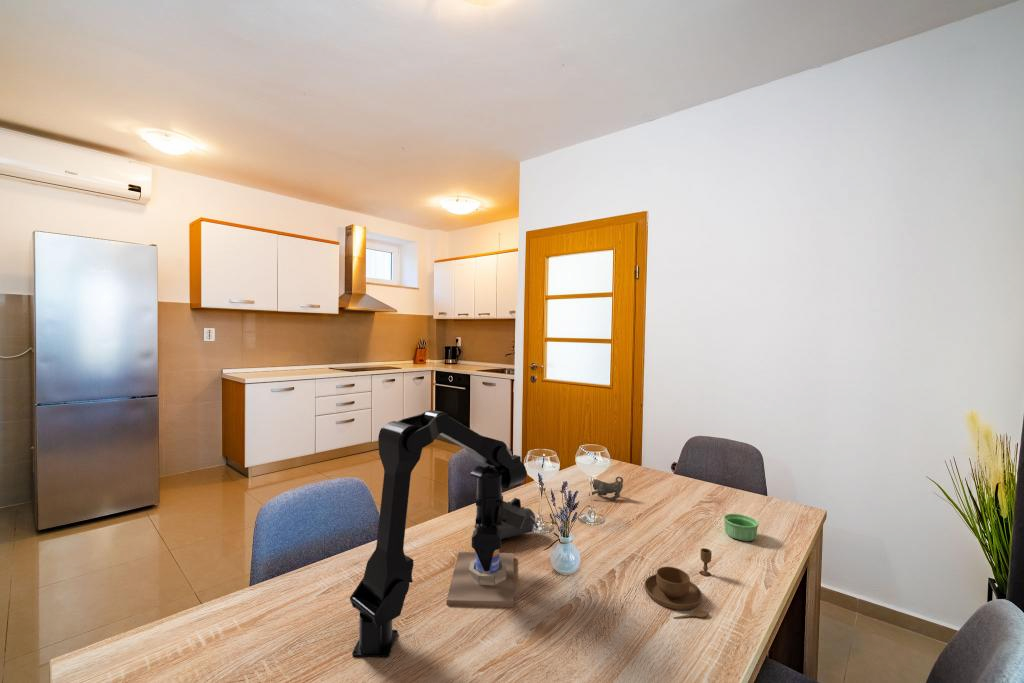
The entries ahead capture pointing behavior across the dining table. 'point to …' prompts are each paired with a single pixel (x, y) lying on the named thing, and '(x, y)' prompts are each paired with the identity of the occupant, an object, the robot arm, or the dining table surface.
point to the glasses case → (512, 531)
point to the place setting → (677, 588)
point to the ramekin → (741, 527)
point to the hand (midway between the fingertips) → (488, 560)
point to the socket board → (482, 583)
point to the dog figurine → (608, 488)
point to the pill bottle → (494, 564)
